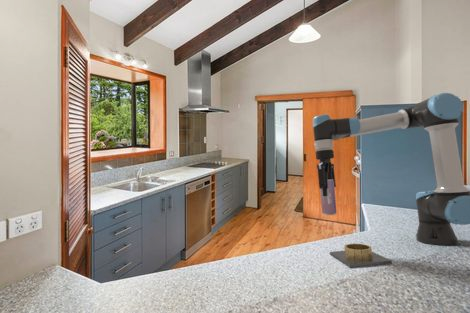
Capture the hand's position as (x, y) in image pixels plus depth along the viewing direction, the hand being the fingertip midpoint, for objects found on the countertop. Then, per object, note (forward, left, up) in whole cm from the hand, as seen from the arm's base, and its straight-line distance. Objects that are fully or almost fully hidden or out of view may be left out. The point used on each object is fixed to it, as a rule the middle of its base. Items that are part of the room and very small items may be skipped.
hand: (329, 202), depth 112 cm
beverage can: (+1, 0, -5) cm, 5 cm away
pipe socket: (-5, +10, -21) cm, 24 cm away
